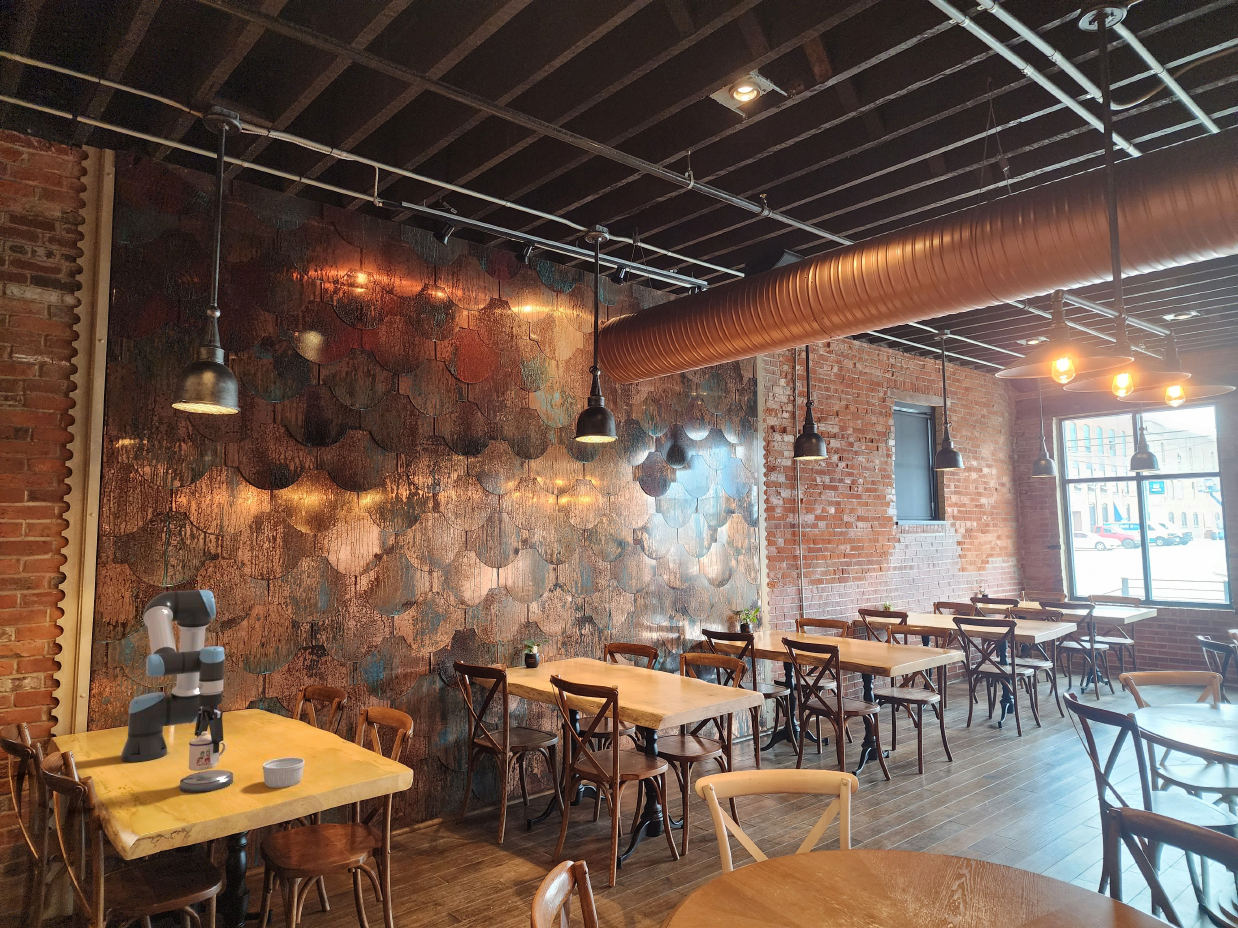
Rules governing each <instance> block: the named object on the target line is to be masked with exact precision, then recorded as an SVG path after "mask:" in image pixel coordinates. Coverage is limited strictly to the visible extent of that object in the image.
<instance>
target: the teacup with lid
mask: <svg viewBox="0 0 1238 928" xmlns="http://www.w3.org/2000/svg"><path fill="white" fill-rule="evenodd" d="M210 742H212V740H211V734H209V732H208V731H207V732H202V733H201V735H200V736H198V737H197V736H195V738H193V739H191V740H189V742H188V745H189V749H188V750H189V755H188V770H190V771H193V772H194V771H195V772H202V771H208V770H210V769H211V770H212V769H214V768H216V767H217V766H218V763H219V762H216V763H212V764H210ZM220 744H222V749H221V751H219V757H221V756H222V755H224V753H225V751H226V749H227V744H226V742H224V741H221V742H220Z"/></svg>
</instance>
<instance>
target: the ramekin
mask: <svg viewBox="0 0 1238 928" xmlns="http://www.w3.org/2000/svg"><path fill="white" fill-rule="evenodd" d="M305 764H306V763H305V759H304V758H301V757H290V756H289V757H281V758H275V759H270V760H269V761H266V762H264V763H263V764H262V771H263V782H264V784H265V786H266V787H268V788H272V789H280V788H281V789H282V788H289V787H292V786H295V785H297V784H299V783H300V782H301V780H302V778H303V774H304V773H303V772H304V767H305Z"/></svg>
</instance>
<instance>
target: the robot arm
mask: <svg viewBox="0 0 1238 928" xmlns="http://www.w3.org/2000/svg"><path fill="white" fill-rule="evenodd" d="M216 614H217V612H216V600H215V597H214V593H213V592H212V591H211V590H209V589H193V590H192V589H191V590H171V591H170V590H169V591H166V592H165V591H164V592H162V593H159V594H157V595H156V596H155V597H153V598H152V599H151V600H150V601H148V603H147V604H146V606H145V608H144V610H143V615H142V620H143V623H144V625H145V626H146V627H147V633H148V639H149V645H150V653H151V654H149V655H147V657H146V662H145V674H146V676H147V677H150V678H153V677H157V678H158V677H159V678H160V677H166V676H167V677H168V676H175V675H176V686H174V688H172V689H171V693H170V694H169V695H166V694H165V692H163V691H158V692H150V693H146V694H142V695H139V696H136V697H134V698H133V699H132V700H130V702H129V708H128V727H127V739H126V741H125V744H124V746H123V748H122V751H121V755H120V760H121V762H126V763H138V762H147V761H152V760H156V759H159V758H162V757H164V756H166V755H167V754H168V745H167V743H166V739H165V737H164V733H163V731H164V727H171V726H178V725H183V724H185V725H186V724H193V723H195V728H194V736H195V737H198V736H200V735H201V733H202V732H208V729H209V732H210V735H211V740H212V742H210V764H212V763H216V762H218V763H219V762H220V756H219V753H220V746H221V745H220V742H221V741H222V742H224V726H223V725H224V724H223V714H224V713H223V710H219V705H221V704H223V702H224V701H223V700H224V699H223V697H224V692H223V691H224V670H225V669H224V667H225V658H226V655H225V648H224V647H223V646H218V645H217V646H215V645H213V646H205V637H206V628H207V627H208V626H210V624H211V621H212V620H214V619H215V618H216ZM172 622H176V626H177V627H178V628H179V629H180V636H179V649H178V651H177V647H176V641H175V636H174V630H173V625H172Z"/></svg>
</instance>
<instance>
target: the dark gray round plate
mask: <svg viewBox="0 0 1238 928" xmlns="http://www.w3.org/2000/svg"><path fill="white" fill-rule="evenodd" d="M233 783H234V772H232V771H228V770H225V769H214V770H213V769H211V770H210V769H209V770H202V771H197V772H195V773H191V774H189V775H187V776H184V777H183V778H181V779H180V780H179V791H180V792H182V793H184V794H201V793H203V794H204V793H208V792H214V791H219V790H223V789H225V788H227V787H229V786H231V785H232V784H233ZM230 784H231V785H230Z"/></svg>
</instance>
